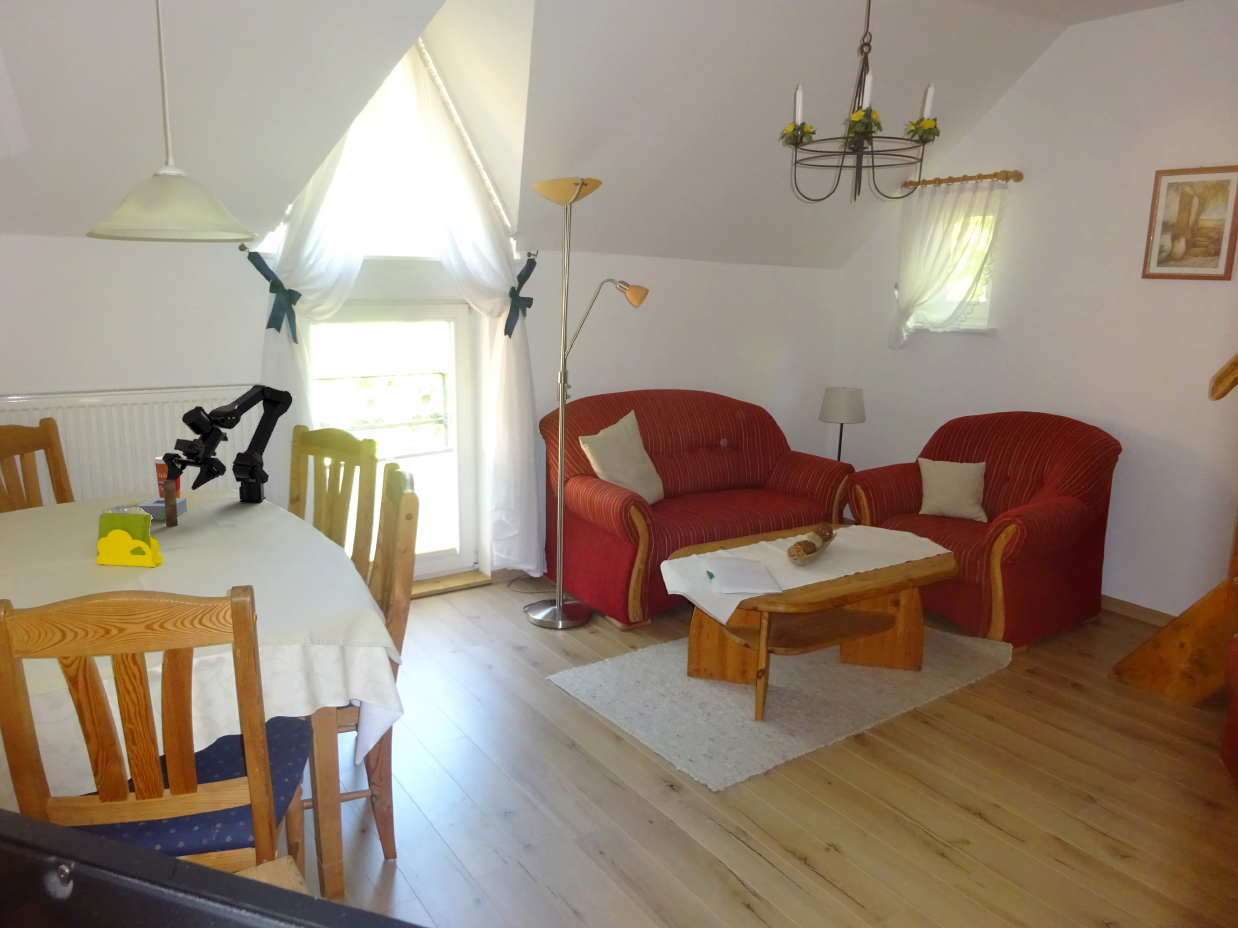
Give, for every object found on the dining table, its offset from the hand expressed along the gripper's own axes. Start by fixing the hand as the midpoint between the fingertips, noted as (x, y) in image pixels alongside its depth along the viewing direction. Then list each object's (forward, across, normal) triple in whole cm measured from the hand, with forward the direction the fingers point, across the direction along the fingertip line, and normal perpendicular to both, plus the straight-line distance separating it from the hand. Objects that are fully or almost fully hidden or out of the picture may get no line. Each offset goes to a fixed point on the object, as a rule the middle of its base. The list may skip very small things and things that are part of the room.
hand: (179, 487), depth 243 cm
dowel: (+10, 0, +5) cm, 11 cm away
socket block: (+4, -11, +10) cm, 15 cm away
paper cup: (-6, -22, +20) cm, 31 cm away
